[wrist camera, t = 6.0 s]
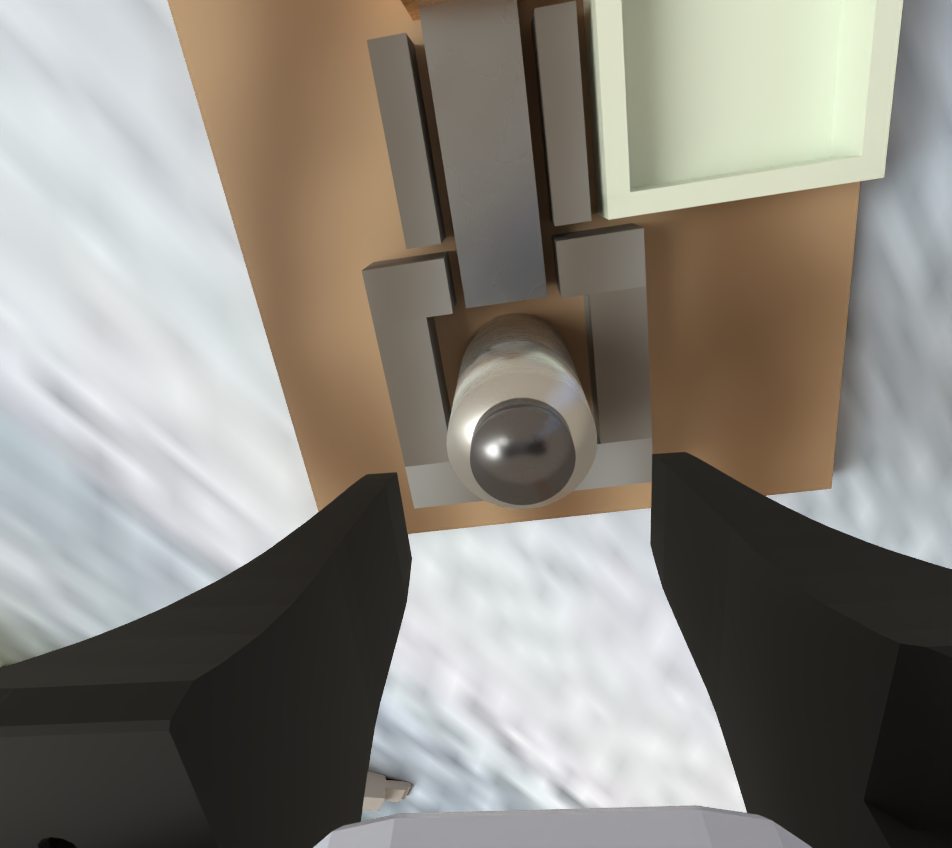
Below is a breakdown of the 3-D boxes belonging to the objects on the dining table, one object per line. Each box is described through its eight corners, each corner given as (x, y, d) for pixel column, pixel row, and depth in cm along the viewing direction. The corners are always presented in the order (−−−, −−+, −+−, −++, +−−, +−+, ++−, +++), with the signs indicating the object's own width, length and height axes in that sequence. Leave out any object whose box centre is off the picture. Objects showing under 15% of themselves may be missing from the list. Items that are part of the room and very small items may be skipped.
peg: (588, 337, 19) (630, 419, 13) (543, 431, 21) (561, 546, 14) (485, 296, 19) (477, 360, 13) (446, 394, 20) (422, 496, 14)
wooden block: (511, -149, 14) (513, -224, 12) (554, 287, 18) (563, 308, 16) (389, -123, 15) (363, -190, 12) (458, 301, 19) (451, 324, 16)
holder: (893, -441, 13) (982, -577, 11) (817, 475, 22) (855, 512, 20) (111, -249, 15) (36, -329, 12) (334, 527, 24) (315, 568, 21)
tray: (868, -124, 14) (921, -165, 13) (842, 176, 17) (883, 177, 15) (578, -66, 15) (589, -98, 13) (597, 214, 18) (608, 220, 16)
